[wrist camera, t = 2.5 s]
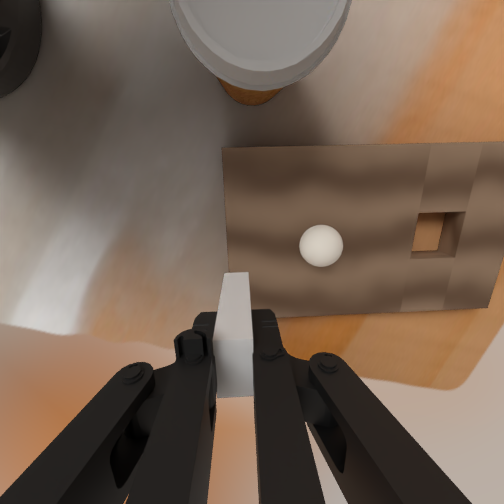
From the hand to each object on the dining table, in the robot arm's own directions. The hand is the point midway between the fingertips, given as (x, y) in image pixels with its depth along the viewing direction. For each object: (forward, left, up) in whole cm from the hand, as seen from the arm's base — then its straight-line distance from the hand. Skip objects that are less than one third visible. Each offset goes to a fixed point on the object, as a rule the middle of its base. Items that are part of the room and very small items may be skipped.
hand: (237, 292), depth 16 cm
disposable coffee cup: (-16, +2, -13) cm, 21 cm away
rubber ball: (0, +8, -8) cm, 11 cm away
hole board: (0, +14, -13) cm, 19 cm away
